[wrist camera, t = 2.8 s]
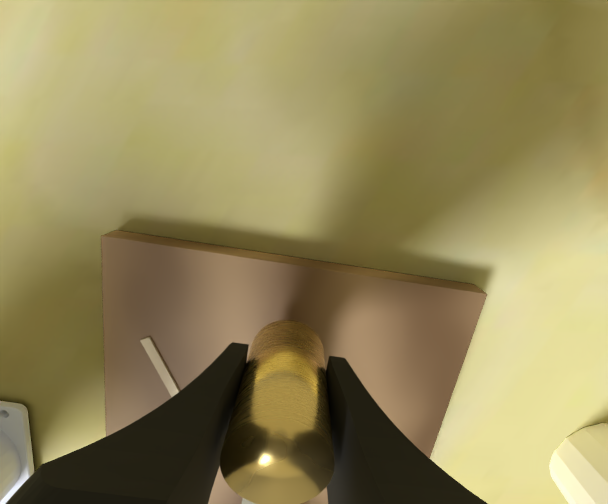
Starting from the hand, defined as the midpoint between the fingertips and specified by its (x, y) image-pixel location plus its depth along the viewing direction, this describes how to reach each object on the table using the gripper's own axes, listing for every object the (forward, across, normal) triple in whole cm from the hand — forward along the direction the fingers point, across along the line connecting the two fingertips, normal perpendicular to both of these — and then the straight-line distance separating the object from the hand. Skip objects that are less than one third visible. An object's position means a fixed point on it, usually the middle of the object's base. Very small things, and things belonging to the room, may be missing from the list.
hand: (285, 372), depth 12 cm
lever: (+3, 0, +8) cm, 8 cm away
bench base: (+5, 0, +8) cm, 9 cm away
